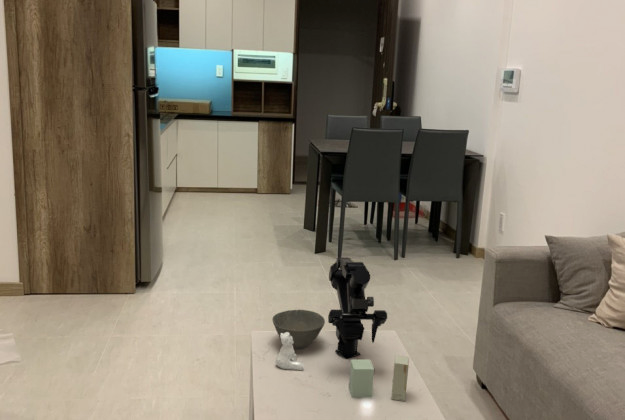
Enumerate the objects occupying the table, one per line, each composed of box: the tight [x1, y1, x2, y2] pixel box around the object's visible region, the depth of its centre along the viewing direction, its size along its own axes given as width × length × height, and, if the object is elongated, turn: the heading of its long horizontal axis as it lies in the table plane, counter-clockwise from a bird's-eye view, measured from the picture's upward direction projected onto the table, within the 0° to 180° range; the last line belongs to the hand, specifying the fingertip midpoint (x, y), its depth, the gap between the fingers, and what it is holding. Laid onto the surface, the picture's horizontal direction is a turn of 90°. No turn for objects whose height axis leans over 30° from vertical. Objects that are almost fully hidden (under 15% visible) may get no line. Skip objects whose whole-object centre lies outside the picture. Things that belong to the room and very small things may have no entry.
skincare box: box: [390, 354, 410, 402], centre depth 192 cm, size 6×4×12 cm
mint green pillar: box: [348, 359, 375, 399], centre depth 193 cm, size 6×6×10 cm
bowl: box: [272, 309, 326, 349], centre depth 223 cm, size 19×19×10 cm
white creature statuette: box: [275, 332, 305, 371], centre depth 207 cm, size 10×9×12 cm
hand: (359, 342), depth 198 cm, fingers open, 9 cm apart
